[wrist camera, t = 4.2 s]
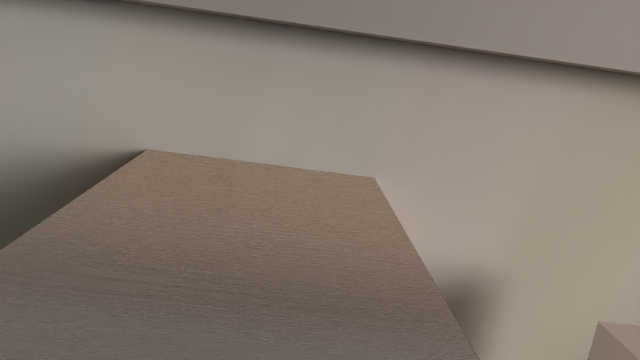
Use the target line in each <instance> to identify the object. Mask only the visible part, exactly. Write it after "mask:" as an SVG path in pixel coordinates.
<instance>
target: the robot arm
mask: <svg viewBox="0 0 640 360" xmlns="http://www.w3.org/2000/svg"><path fill="white" fill-rule="evenodd" d="M588 360H640V328H639V327H638V326H634V325H625V324H616V323H607V322H598V325H597V328H596V332H595V335H594V339H593V342H592V346H591V349H590V353H589V357H588Z"/></svg>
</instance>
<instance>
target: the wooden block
mask: <svg viewBox="0 0 640 360" xmlns="http://www.w3.org/2000/svg"><path fill="white" fill-rule="evenodd" d="M0 360H479V358H478V357H477V355H476V353H475V351H474V350H473V348H472V346H471V345H470V343H469V341H468V339H467V338H466V336H465V334H464V332H463V331H462V329H461V327H460V326H459V324H458V322H457V320H456V319H455V317H454V315H453V313H452V312H451V310H450V308H449V306H448V305H447V303H446V301H445V300H444V298H443V296H442V294H441V293H440V291H439V289H438V287H437V286H436V284H435V282H434V281H433V279H432V277H431V275H430V274H429V272H428V270H427V268H426V267H425V265H424V263H423V261H422V260H421V258H420V256H419V255H418V253H417V251H416V249H415V248H414V246H413V244H412V242H411V241H410V239H409V237H408V236H407V234H406V232H405V230H404V229H403V227H402V225H401V223H400V222H399V220H398V218H397V216H396V215H395V213H394V211H393V210H392V208H391V206H390V204H389V203H388V201H387V199H386V197H385V196H384V194H383V192H382V191H381V189H380V187H379V185H378V184H377V182H376V180H375V178H370V177H362V176H354V175H346V174H339V173H331V172H323V171H315V170H307V169H299V168H291V167H283V166H275V165H267V164H259V163H251V162H244V161H236V160H228V159H220V158H212V157H204V156H196V155H188V154H180V153H172V152H164V151H156V150H149V149H147V150H146V151H144V152H143V153H141V154H140V155H139V156H137V157H136V158H134V159H133V160H131V161H130V162H128V163H127V164H125V165H124V166H122V167H121V168H120V169H118V170H117V171H115V172H114V173H112V174H111V175H109V176H108V177H106V178H105V179H104V180H102V181H101V182H99V183H98V184H96V185H95V186H93V187H92V188H90V189H89V190H87V191H86V192H85V193H83V194H82V195H80V196H79V197H77V198H76V199H74V200H73V201H71V202H70V203H69V204H67V205H66V206H64V207H63V208H61V209H60V210H58V211H57V212H55V213H54V214H52V215H51V216H50V217H48V218H47V219H45V220H44V221H42V222H41V223H39V224H38V225H36V226H35V227H33V228H32V229H31V230H29V231H28V232H26V233H25V234H23V235H22V236H20V237H19V238H17V239H16V240H15V241H13V242H12V243H10V244H9V245H7V246H6V247H4V248H3V249H1V250H0Z"/></svg>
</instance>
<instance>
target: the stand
mask: <svg viewBox="0 0 640 360" xmlns="http://www.w3.org/2000/svg"><path fill="white" fill-rule="evenodd" d="M120 1H127V2H134V3H140V4H147V5H154V6H161V7H168V8H175V9H182V10H189V11H196V12H203V13H210V14H217V15H224V16H231V17H238V18H245V19H252V20H258V21H265V22H272V23H279V24H286V25H293V26H300V27H307V28H314V29H321V30H328V31H335V32H342V33H349V34H356V35H363V36H370V37H376V38H383V39H390V40H397V41H404V42H411V43H418V44H425V45H432V46H439V47H446V48H453V49H460V50H467V51H474V52H481V53H488V54H494V55H501V56H508V57H515V58H522V59H529V60H536V61H543V62H550V63H557V64H564V65H571V66H578V67H585V68H592V69H599V70H606V71H612V72H619V73H626V74H633V75H640V0H120Z"/></svg>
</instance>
